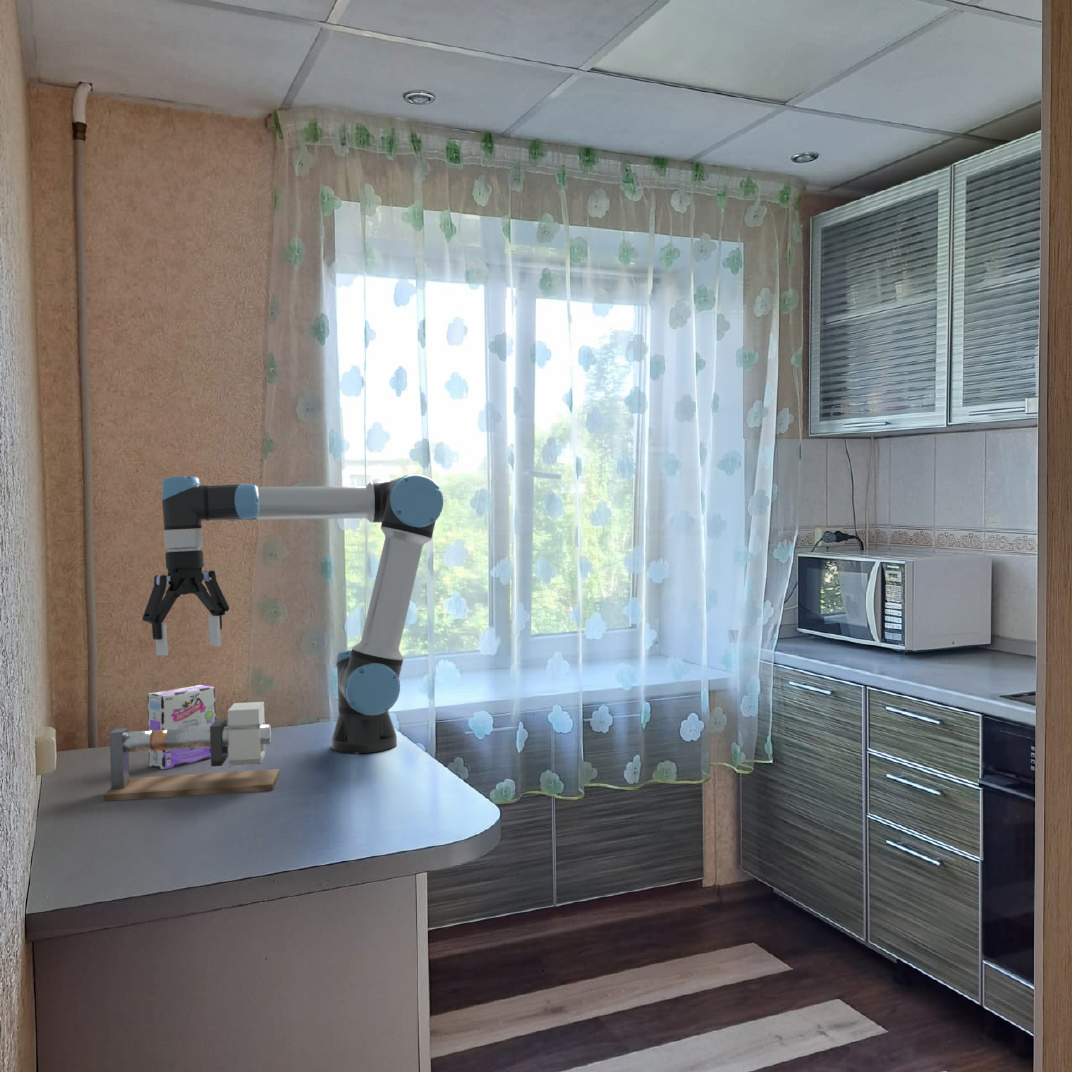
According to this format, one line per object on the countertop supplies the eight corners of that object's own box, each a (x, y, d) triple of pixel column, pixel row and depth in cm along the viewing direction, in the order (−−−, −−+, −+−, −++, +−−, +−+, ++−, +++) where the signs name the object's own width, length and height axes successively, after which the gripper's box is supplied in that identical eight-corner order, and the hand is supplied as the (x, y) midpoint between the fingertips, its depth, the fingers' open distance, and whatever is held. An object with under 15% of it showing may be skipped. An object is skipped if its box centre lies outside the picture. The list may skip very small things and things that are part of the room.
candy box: (163, 770, 212) (160, 695, 212) (148, 766, 216) (145, 692, 215) (218, 757, 223) (215, 685, 223) (202, 753, 227) (200, 683, 226)
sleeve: (265, 754, 203) (263, 701, 203) (260, 763, 196) (258, 709, 195) (235, 755, 203) (234, 703, 202) (229, 765, 195) (227, 710, 194)
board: (279, 774, 206) (279, 769, 206) (272, 790, 194) (272, 784, 194) (120, 784, 201) (120, 778, 201) (103, 800, 189) (103, 794, 189)
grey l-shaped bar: (272, 774, 202) (270, 720, 202) (269, 779, 198) (268, 724, 198) (117, 783, 197) (115, 728, 197) (111, 789, 193) (109, 732, 193)
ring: (228, 756, 202) (227, 718, 202) (221, 765, 194) (220, 726, 194) (218, 756, 202) (217, 718, 202) (211, 766, 194) (209, 726, 194)
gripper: (219, 547, 218) (224, 641, 218) (120, 553, 197) (126, 658, 197) (242, 546, 214) (247, 642, 214) (144, 553, 193) (150, 660, 193)
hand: (189, 650), depth 206 cm, fingers open, 13 cm apart
